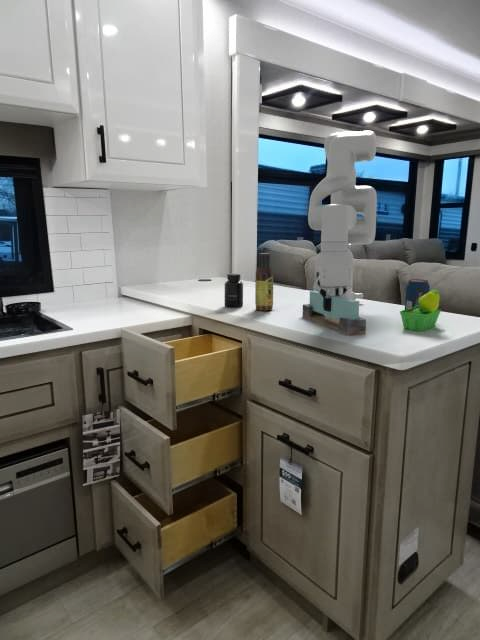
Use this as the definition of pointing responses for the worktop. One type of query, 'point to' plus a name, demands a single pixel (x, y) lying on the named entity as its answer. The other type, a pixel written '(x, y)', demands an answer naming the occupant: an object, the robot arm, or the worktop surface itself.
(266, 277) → the sauce bottle
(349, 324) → the endcap rail
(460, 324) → the worktop surface
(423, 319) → the fruit basket
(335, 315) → the slat
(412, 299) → the soda can
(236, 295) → the supplement bottle
